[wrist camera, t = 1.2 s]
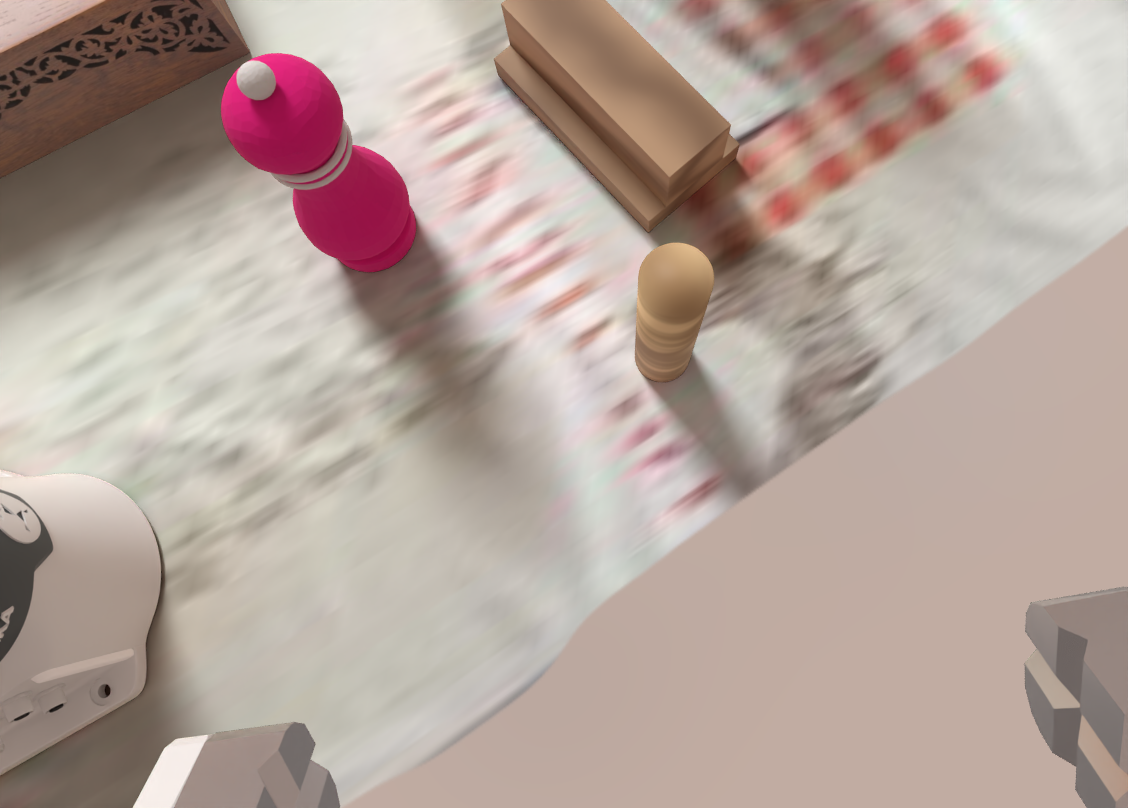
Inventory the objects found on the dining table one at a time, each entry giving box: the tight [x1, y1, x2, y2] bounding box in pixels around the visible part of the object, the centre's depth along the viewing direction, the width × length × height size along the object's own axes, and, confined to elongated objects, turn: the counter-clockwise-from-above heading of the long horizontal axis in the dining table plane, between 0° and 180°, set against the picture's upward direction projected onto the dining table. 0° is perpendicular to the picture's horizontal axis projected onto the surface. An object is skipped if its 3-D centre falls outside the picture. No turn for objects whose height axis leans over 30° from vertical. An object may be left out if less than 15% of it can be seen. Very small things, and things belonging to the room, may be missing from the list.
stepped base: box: [494, 0, 740, 232], centre depth 57 cm, size 8×16×6 cm, turn 41°
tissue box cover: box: [0, 0, 250, 178], centre depth 59 cm, size 26×14×10 cm, turn 117°
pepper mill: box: [221, 53, 416, 272], centre depth 50 cm, size 7×7×20 cm
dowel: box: [635, 243, 714, 382], centre depth 49 cm, size 4×4×16 cm
